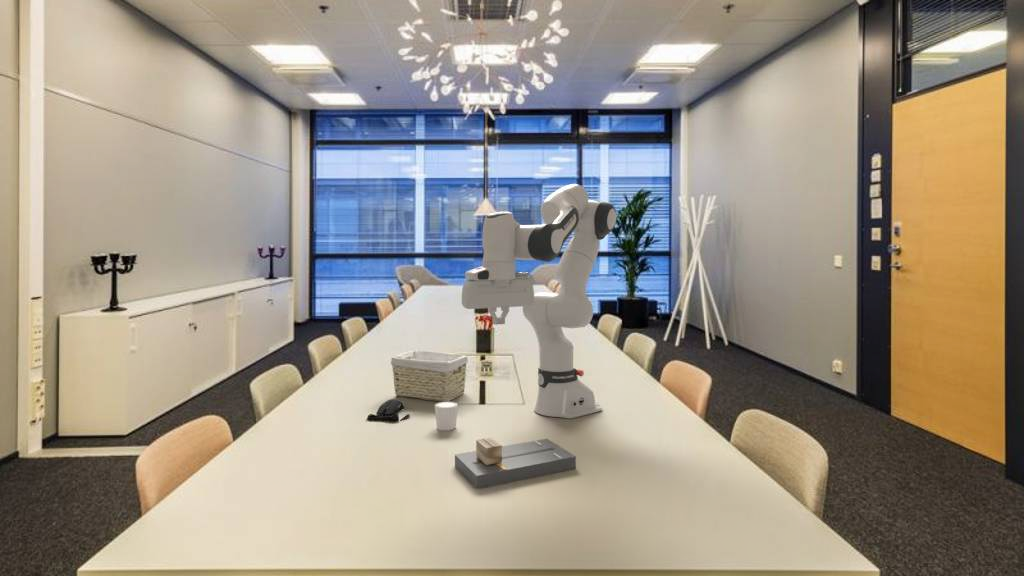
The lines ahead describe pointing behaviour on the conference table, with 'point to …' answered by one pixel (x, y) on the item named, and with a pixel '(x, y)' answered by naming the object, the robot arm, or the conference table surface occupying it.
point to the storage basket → (429, 375)
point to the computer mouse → (388, 411)
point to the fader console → (516, 463)
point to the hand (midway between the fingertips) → (498, 324)
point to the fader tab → (489, 451)
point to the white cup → (446, 415)
